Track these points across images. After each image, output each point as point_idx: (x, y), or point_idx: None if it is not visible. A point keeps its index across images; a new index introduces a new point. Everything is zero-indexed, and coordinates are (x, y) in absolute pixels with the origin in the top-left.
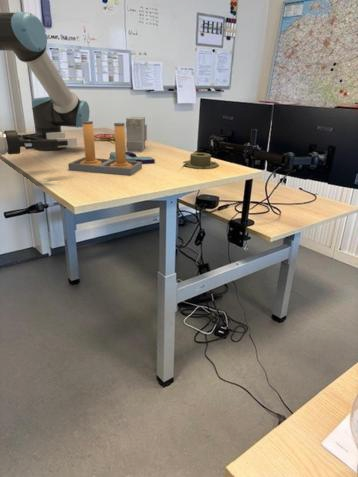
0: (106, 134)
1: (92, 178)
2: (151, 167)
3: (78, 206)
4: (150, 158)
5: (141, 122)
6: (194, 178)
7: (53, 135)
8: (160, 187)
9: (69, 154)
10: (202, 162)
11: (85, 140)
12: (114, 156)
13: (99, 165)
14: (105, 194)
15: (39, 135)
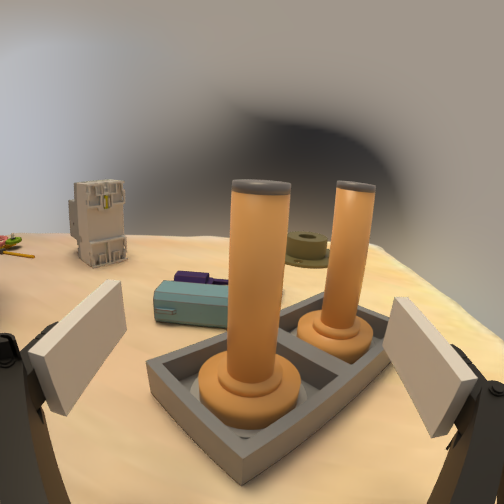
0: None
1: (376, 431)
2: (289, 295)
3: None
4: None
5: (122, 189)
6: (404, 285)
7: (83, 342)
8: (470, 330)
9: None
10: (325, 250)
11: (268, 290)
12: (194, 303)
13: (340, 370)
14: None
15: (34, 435)
